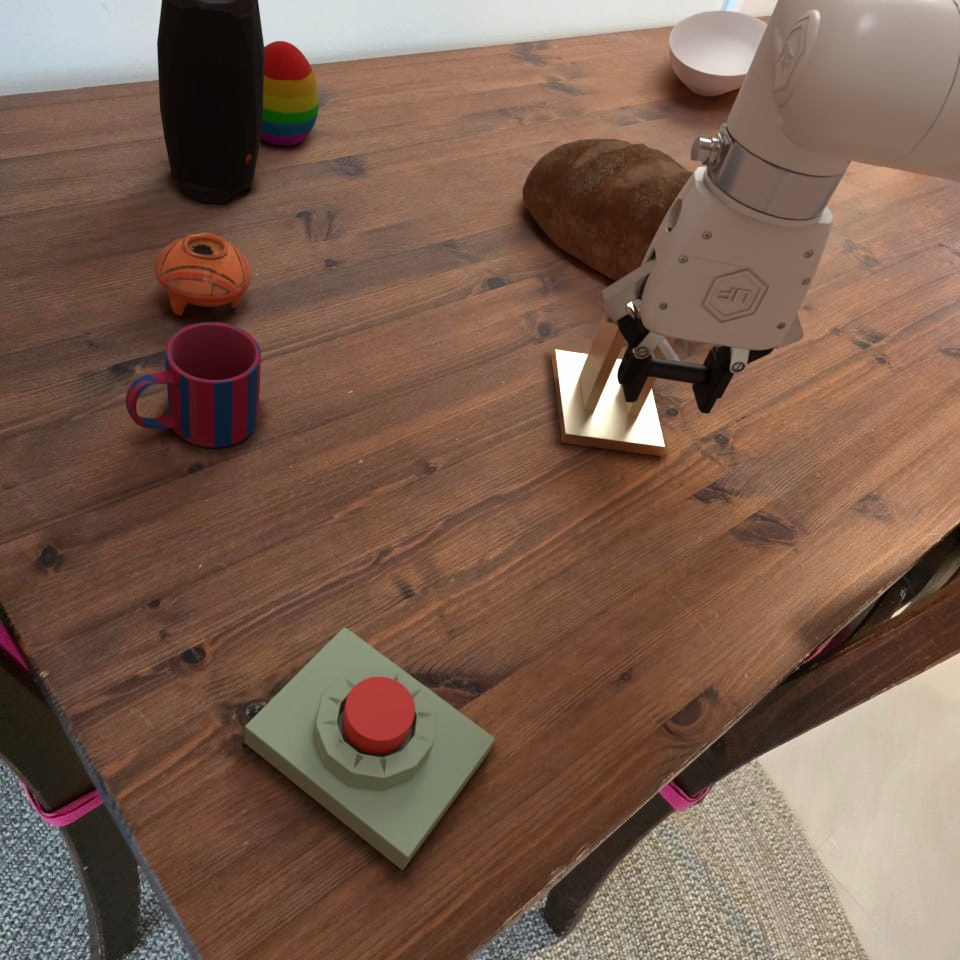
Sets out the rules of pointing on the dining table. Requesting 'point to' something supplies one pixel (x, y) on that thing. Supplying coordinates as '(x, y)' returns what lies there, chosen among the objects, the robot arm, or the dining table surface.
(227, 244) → the pot
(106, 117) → the dining table surface
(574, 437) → the switch bracket
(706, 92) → the bowl
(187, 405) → the cup
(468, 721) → the switch box
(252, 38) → the portable speaker
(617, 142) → the bread
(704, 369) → the switch lever
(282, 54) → the decorative egg
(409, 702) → the button
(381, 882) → the dining table surface
